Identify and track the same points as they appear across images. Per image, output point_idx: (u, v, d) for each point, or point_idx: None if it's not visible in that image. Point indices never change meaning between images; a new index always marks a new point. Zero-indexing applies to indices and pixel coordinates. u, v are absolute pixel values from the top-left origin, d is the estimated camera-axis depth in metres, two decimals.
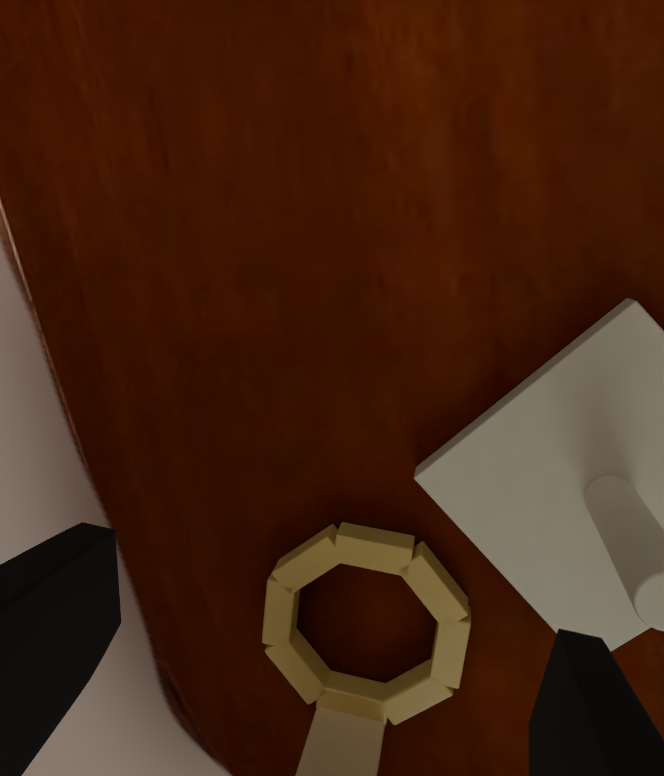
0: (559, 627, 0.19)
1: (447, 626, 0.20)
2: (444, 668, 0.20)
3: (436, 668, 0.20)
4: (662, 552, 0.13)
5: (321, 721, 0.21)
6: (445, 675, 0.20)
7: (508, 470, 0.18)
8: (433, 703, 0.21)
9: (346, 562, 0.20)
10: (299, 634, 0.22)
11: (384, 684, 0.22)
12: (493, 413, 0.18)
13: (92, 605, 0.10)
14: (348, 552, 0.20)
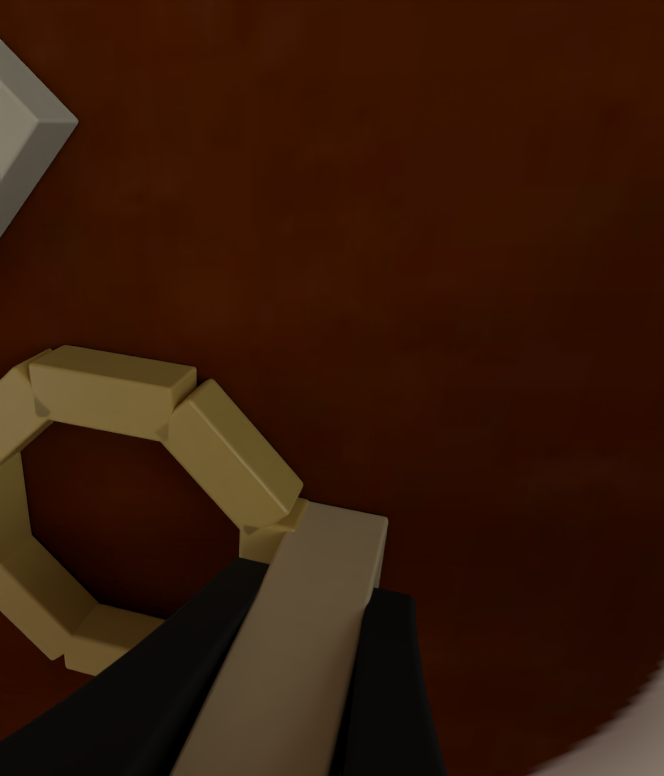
0: None
1: (46, 405, 0.10)
2: (132, 414, 0.10)
3: (139, 428, 0.10)
4: None
5: None
6: (146, 413, 0.10)
7: None
8: (216, 438, 0.10)
9: None
10: None
11: None
12: None
13: None
14: None
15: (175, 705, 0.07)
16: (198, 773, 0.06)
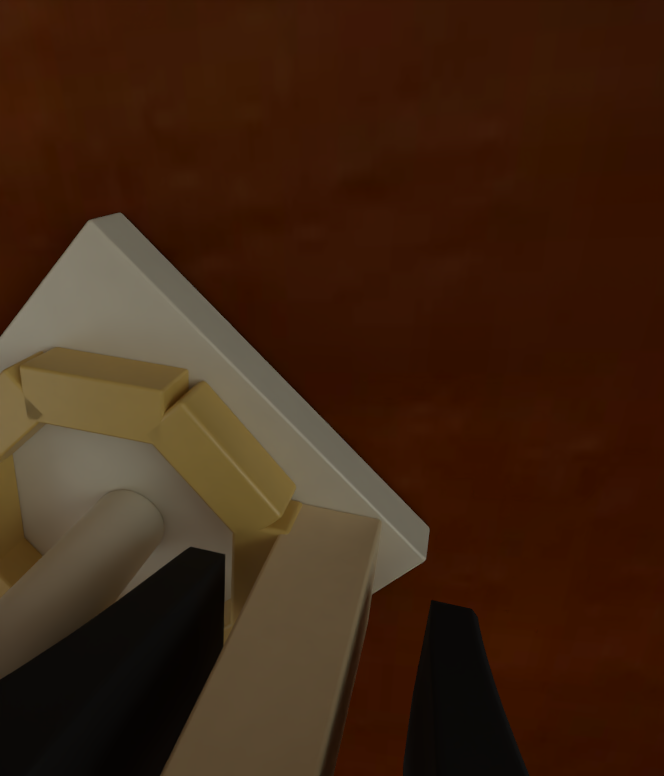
0: None
1: (37, 407, 0.10)
2: (124, 417, 0.10)
3: (130, 431, 0.10)
4: None
5: None
6: (138, 416, 0.10)
7: None
8: (207, 441, 0.10)
9: None
10: None
11: None
12: None
13: (205, 633, 0.09)
14: None
15: (107, 686, 0.07)
16: None
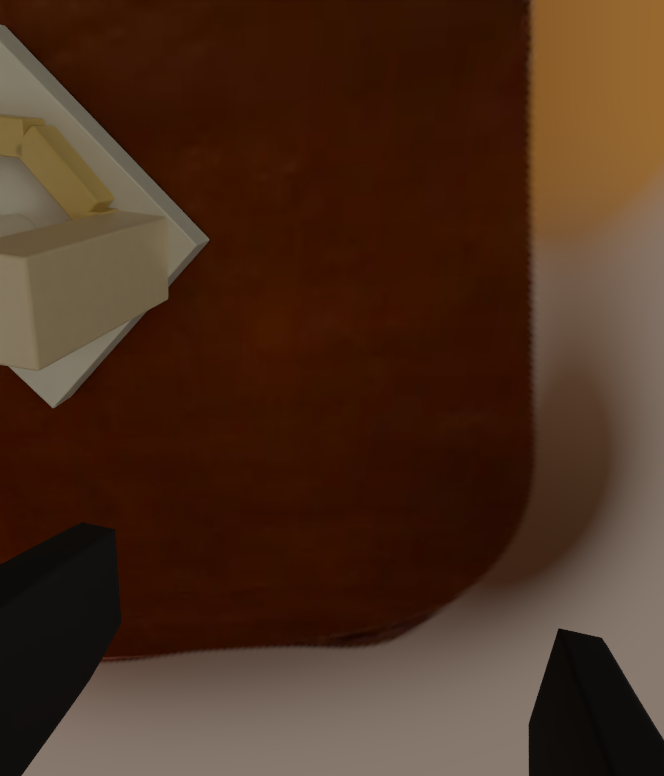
0: None
1: None
2: (0, 139, 0.16)
3: (5, 149, 0.17)
4: None
5: None
6: (8, 137, 0.16)
7: None
8: (49, 150, 0.16)
9: None
10: None
11: None
12: None
13: (92, 605, 0.10)
14: None
15: None
16: None
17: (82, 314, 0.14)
